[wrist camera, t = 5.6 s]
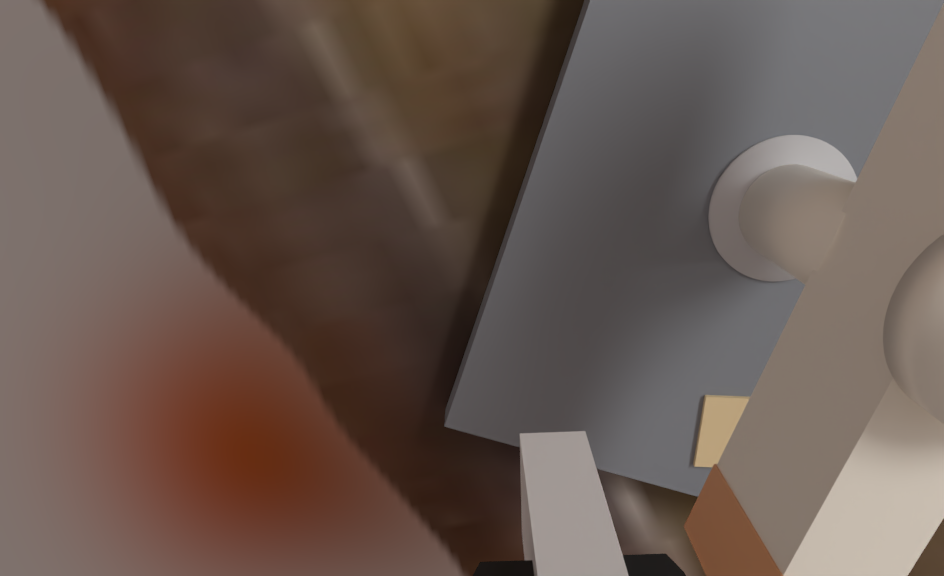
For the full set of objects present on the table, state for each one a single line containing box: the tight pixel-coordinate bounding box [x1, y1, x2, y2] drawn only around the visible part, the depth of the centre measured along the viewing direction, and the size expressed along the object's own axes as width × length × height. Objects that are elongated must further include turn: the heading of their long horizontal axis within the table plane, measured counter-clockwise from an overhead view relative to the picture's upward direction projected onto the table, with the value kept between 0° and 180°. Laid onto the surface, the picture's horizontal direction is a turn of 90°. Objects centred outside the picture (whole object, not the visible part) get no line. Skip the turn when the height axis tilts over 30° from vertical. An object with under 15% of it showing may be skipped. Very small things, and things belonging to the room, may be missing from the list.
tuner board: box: [444, 0, 944, 497], centre depth 22 cm, size 18×17×1 cm
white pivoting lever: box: [684, 3, 944, 576], centre depth 16 cm, size 16×4×10 cm, turn 162°
